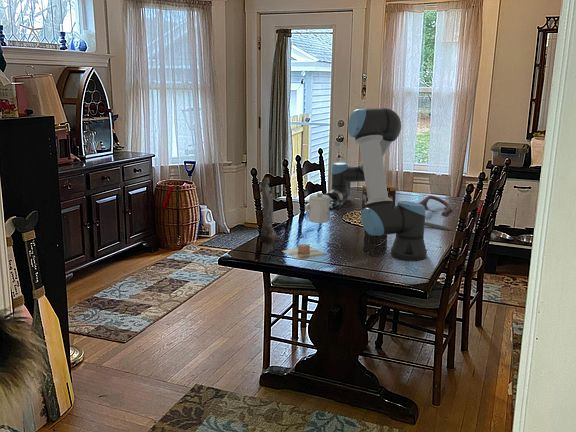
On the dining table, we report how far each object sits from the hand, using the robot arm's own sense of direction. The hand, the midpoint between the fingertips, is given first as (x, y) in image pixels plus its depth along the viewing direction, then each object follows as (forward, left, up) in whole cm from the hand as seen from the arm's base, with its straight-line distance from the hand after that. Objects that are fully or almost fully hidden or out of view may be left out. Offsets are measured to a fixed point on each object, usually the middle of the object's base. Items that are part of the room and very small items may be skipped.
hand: (315, 209), depth 240 cm
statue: (+21, +12, -18) cm, 30 cm away
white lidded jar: (+3, -4, -6) cm, 8 cm away
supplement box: (+33, -66, -18) cm, 76 cm away
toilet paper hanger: (+21, -96, -19) cm, 100 cm away
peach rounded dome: (-5, +10, -17) cm, 20 cm away
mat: (+3, -6, -18) cm, 19 cm away
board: (-5, +10, -18) cm, 21 cm away
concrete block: (+65, -65, -18) cm, 93 cm away
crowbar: (+6, -66, -19) cm, 68 cm away
